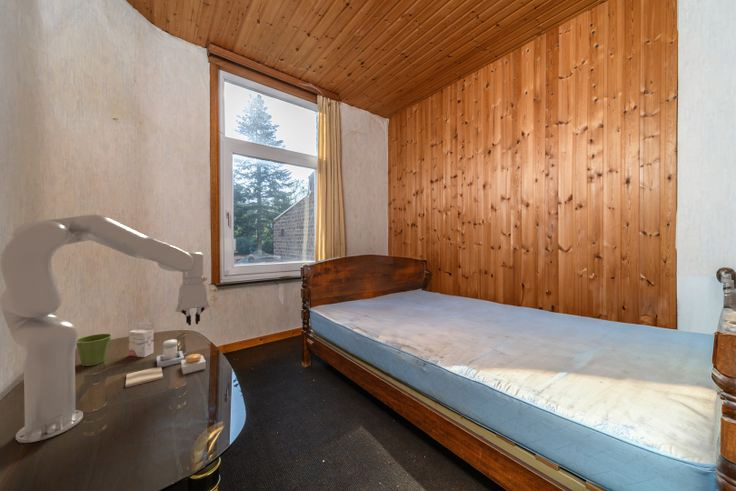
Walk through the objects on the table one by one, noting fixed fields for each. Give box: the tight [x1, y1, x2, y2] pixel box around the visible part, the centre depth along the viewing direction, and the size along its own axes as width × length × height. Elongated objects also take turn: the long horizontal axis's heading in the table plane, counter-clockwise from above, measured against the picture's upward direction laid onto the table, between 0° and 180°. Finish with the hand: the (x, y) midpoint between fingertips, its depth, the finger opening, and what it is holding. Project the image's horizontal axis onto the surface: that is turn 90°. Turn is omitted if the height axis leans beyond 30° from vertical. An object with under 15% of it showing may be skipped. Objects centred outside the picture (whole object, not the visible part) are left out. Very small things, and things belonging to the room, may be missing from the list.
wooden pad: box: [124, 366, 164, 388], centre depth 107 cm, size 11×11×1 cm
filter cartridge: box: [162, 339, 178, 361], centre depth 121 cm, size 5×5×9 cm
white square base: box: [180, 354, 207, 375], centre depth 115 cm, size 8×8×3 cm
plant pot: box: [76, 333, 113, 367], centre depth 118 cm, size 12×12×11 cm
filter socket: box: [156, 350, 185, 368], centre depth 121 cm, size 9×9×2 cm
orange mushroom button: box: [184, 353, 202, 363], centre depth 115 cm, size 6×6×4 cm
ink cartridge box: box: [128, 322, 155, 358], centre depth 127 cm, size 9×5×15 cm, turn 84°
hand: (193, 323), depth 114 cm, fingers closed
